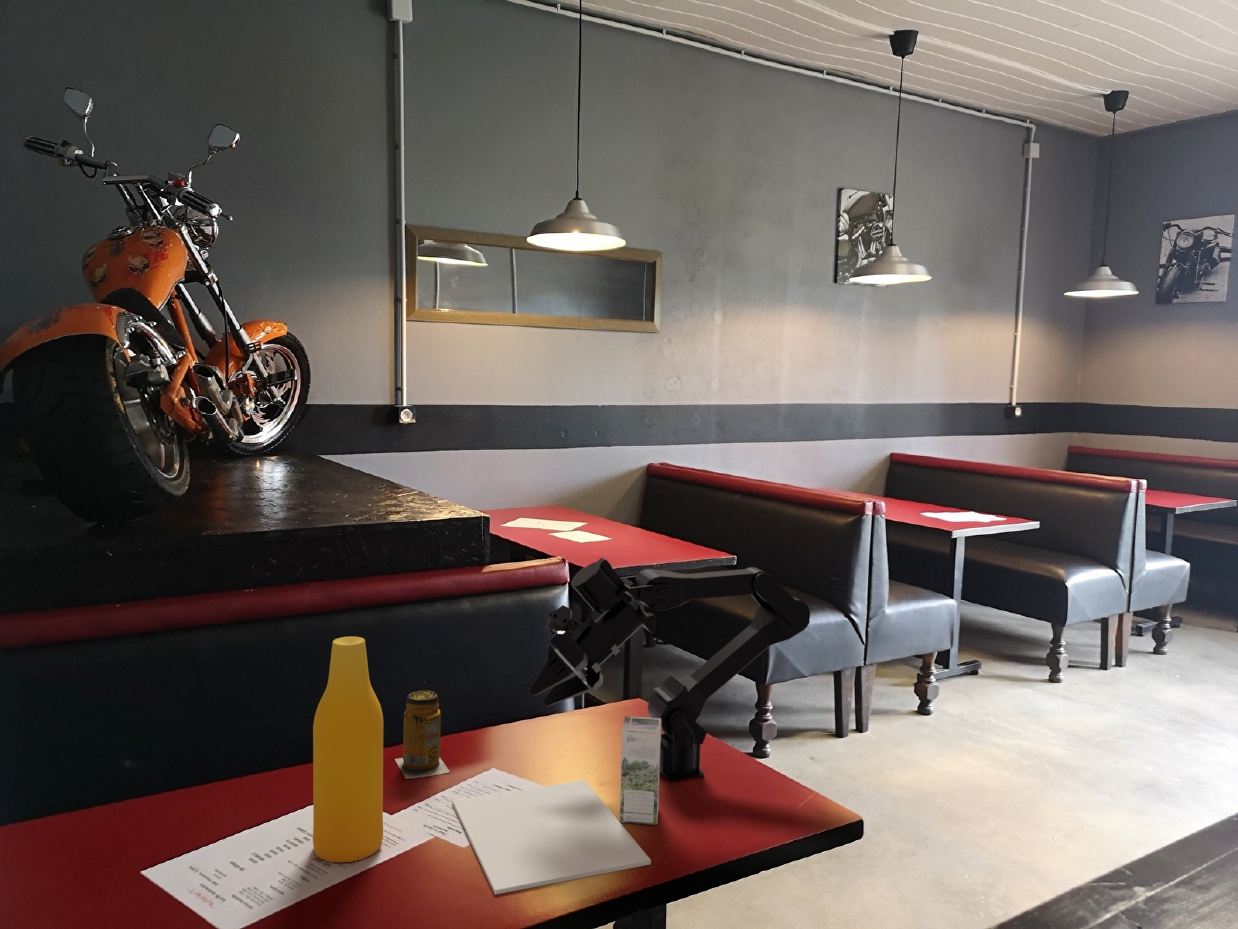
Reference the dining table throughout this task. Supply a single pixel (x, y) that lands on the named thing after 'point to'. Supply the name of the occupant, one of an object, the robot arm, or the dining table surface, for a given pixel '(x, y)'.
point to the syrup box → (640, 770)
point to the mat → (546, 836)
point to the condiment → (421, 737)
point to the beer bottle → (348, 759)
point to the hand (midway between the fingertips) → (538, 699)
